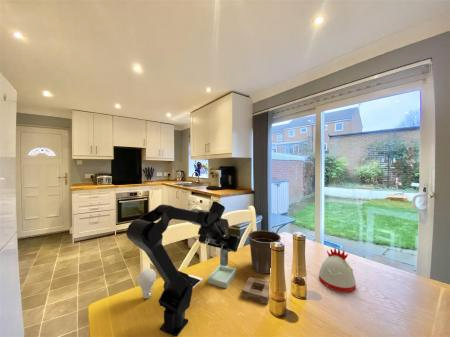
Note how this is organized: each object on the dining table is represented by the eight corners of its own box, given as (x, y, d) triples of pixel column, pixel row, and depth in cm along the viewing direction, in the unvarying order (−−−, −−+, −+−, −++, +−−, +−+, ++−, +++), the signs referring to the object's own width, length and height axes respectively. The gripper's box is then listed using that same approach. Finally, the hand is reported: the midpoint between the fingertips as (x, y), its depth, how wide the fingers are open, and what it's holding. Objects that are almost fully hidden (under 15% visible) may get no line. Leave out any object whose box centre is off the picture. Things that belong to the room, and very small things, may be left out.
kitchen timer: (354, 296, 76) (354, 258, 76) (316, 283, 84) (316, 249, 84) (356, 280, 87) (356, 246, 87) (322, 269, 95) (323, 239, 95)
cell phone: (163, 295, 76) (163, 294, 76) (189, 275, 90) (189, 274, 90) (179, 302, 73) (179, 300, 73) (203, 280, 87) (203, 278, 87)
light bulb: (150, 290, 79) (150, 263, 79) (159, 297, 75) (159, 269, 75) (134, 298, 74) (134, 270, 74) (142, 306, 70) (143, 276, 69)
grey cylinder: (228, 265, 85) (228, 238, 85) (220, 266, 85) (220, 238, 85) (227, 261, 89) (227, 235, 89) (219, 261, 89) (219, 235, 89)
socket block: (267, 304, 71) (267, 297, 71) (241, 296, 75) (241, 290, 75) (272, 288, 80) (272, 282, 80) (249, 282, 84) (249, 276, 84)
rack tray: (226, 288, 80) (226, 282, 80) (207, 283, 84) (207, 277, 84) (236, 273, 91) (236, 268, 91) (219, 269, 95) (219, 264, 95)
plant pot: (275, 280, 86) (275, 244, 86) (242, 270, 94) (242, 237, 94) (284, 264, 100) (284, 233, 100) (254, 257, 108) (254, 228, 108)
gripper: (238, 217, 79) (249, 236, 88) (202, 211, 88) (215, 228, 98) (229, 242, 72) (241, 260, 82) (190, 233, 82) (206, 250, 91)
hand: (225, 248), depth 88 cm, fingers closed on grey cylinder, 4 cm apart
